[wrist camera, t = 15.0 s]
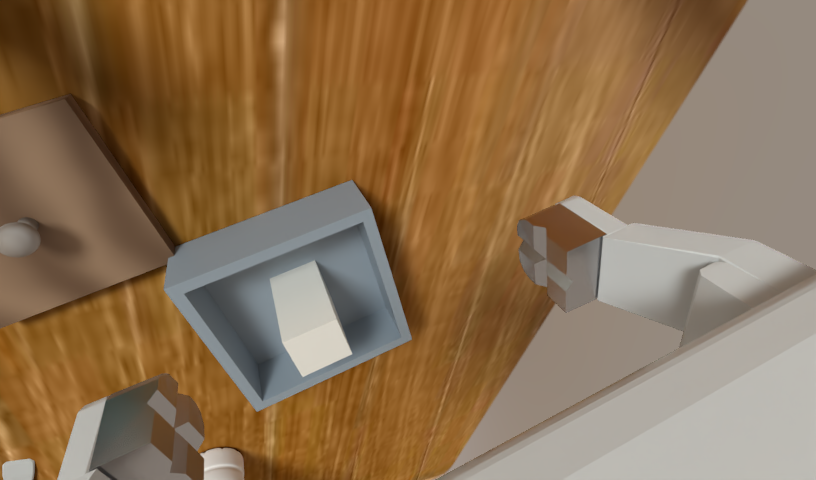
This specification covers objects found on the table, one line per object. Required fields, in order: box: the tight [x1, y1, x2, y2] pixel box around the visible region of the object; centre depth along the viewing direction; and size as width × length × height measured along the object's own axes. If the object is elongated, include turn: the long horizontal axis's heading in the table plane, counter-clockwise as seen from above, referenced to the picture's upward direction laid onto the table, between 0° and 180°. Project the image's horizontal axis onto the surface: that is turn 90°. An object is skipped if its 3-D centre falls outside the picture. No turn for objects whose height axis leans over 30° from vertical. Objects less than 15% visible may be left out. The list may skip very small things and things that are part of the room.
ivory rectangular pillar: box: [270, 260, 352, 377], centre depth 39 cm, size 5×5×9 cm
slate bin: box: [164, 180, 412, 411], centre depth 41 cm, size 17×17×6 cm
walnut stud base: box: [0, 94, 175, 328], centre depth 30 cm, size 14×14×5 cm
